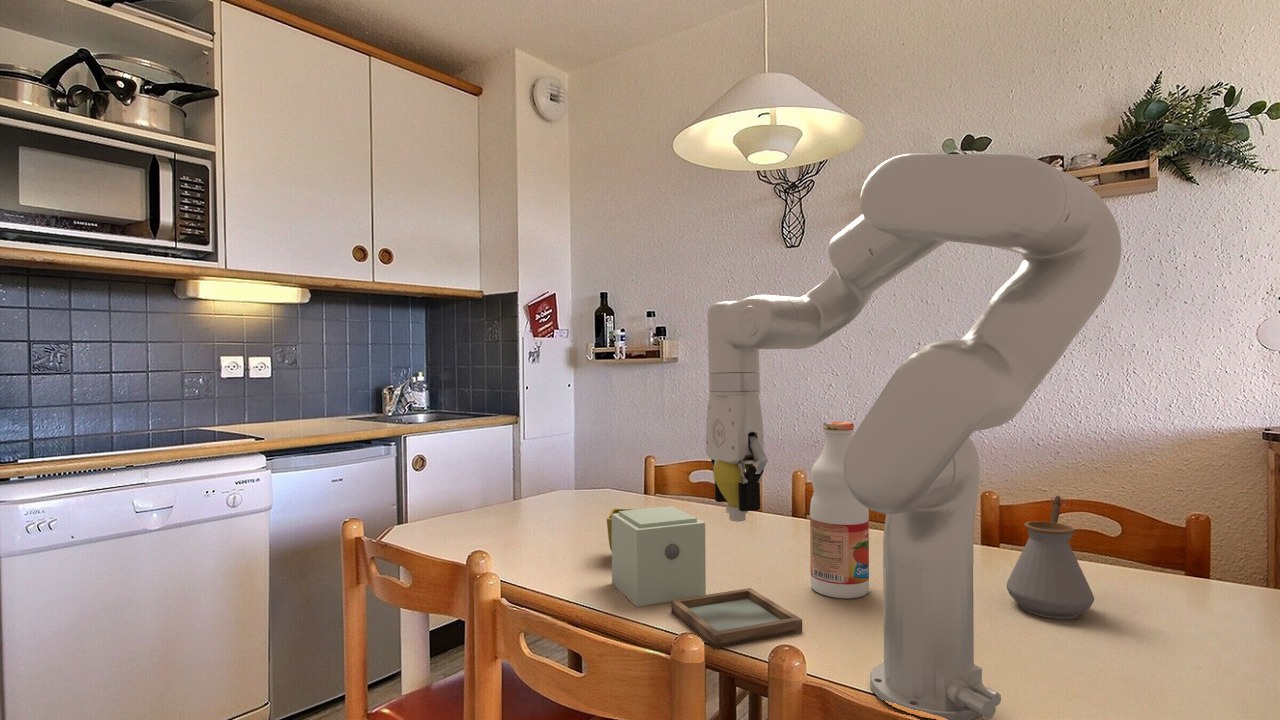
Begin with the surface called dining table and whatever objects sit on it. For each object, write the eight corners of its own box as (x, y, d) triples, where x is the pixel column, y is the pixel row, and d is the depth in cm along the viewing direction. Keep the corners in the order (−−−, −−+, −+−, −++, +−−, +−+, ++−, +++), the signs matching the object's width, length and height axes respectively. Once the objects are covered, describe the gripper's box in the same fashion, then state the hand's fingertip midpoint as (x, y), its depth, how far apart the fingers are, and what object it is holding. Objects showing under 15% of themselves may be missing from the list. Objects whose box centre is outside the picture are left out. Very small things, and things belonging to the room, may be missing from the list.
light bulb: (759, 525, 94) (757, 455, 94) (712, 524, 96) (710, 455, 96) (761, 514, 101) (759, 448, 101) (717, 513, 102) (715, 449, 102)
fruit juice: (809, 578, 117) (808, 419, 116) (865, 582, 115) (864, 420, 115) (812, 597, 107) (810, 424, 107) (873, 601, 105) (871, 425, 105)
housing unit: (706, 596, 108) (706, 519, 108) (638, 607, 104) (637, 526, 104) (673, 573, 120) (673, 503, 120) (611, 582, 115) (610, 509, 115)
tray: (802, 632, 94) (802, 619, 94) (714, 648, 89) (714, 635, 89) (750, 599, 107) (750, 587, 107) (671, 612, 102) (671, 600, 102)
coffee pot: (1092, 631, 94) (1091, 524, 94) (1000, 612, 101) (999, 513, 101) (1100, 588, 111) (1099, 499, 111) (1021, 575, 118) (1020, 491, 118)
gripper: (687, 385, 105) (689, 497, 105) (740, 386, 89) (743, 520, 89) (729, 383, 108) (731, 493, 108) (788, 385, 92) (791, 514, 91)
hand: (737, 504), depth 98 cm, fingers closed on light bulb, 6 cm apart
